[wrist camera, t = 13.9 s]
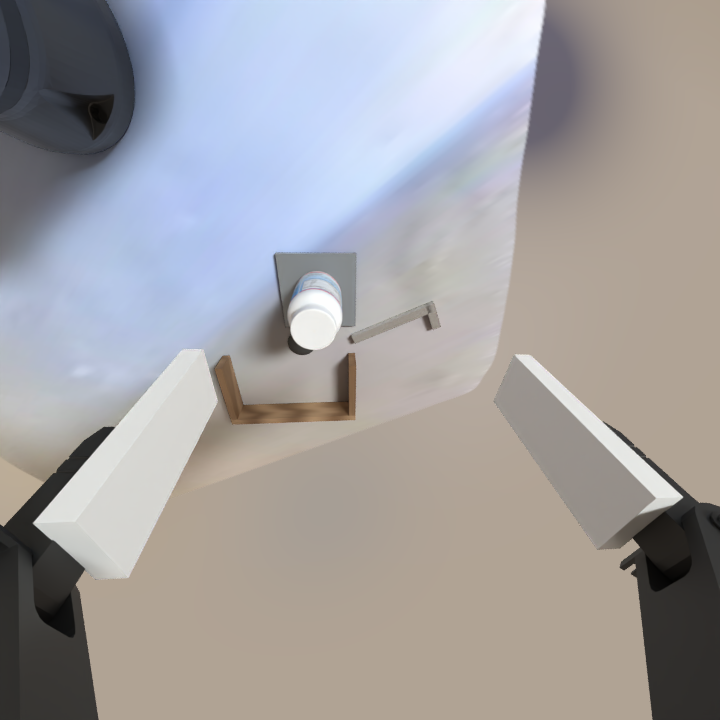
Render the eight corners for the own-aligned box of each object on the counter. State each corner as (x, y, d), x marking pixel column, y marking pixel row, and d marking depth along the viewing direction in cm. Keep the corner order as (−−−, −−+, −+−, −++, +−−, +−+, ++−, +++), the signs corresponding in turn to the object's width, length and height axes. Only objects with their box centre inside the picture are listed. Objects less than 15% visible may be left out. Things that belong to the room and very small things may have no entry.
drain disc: (289, 354, 43) (289, 355, 43) (286, 331, 41) (286, 331, 41) (316, 353, 43) (316, 354, 43) (314, 330, 41) (314, 331, 41)
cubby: (238, 409, 48) (232, 424, 46) (222, 355, 42) (214, 369, 40) (354, 405, 50) (355, 419, 47) (354, 353, 44) (356, 365, 41)
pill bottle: (316, 321, 40) (310, 366, 30) (286, 288, 37) (268, 326, 28) (350, 296, 38) (355, 335, 29) (321, 259, 35) (315, 289, 26)
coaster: (285, 324, 40) (285, 326, 40) (276, 252, 35) (275, 253, 35) (355, 324, 41) (355, 326, 41) (355, 252, 36) (356, 253, 35)
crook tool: (351, 333, 42) (351, 337, 41) (431, 300, 40) (434, 303, 39) (361, 353, 44) (362, 357, 43) (438, 323, 42) (440, 326, 41)
